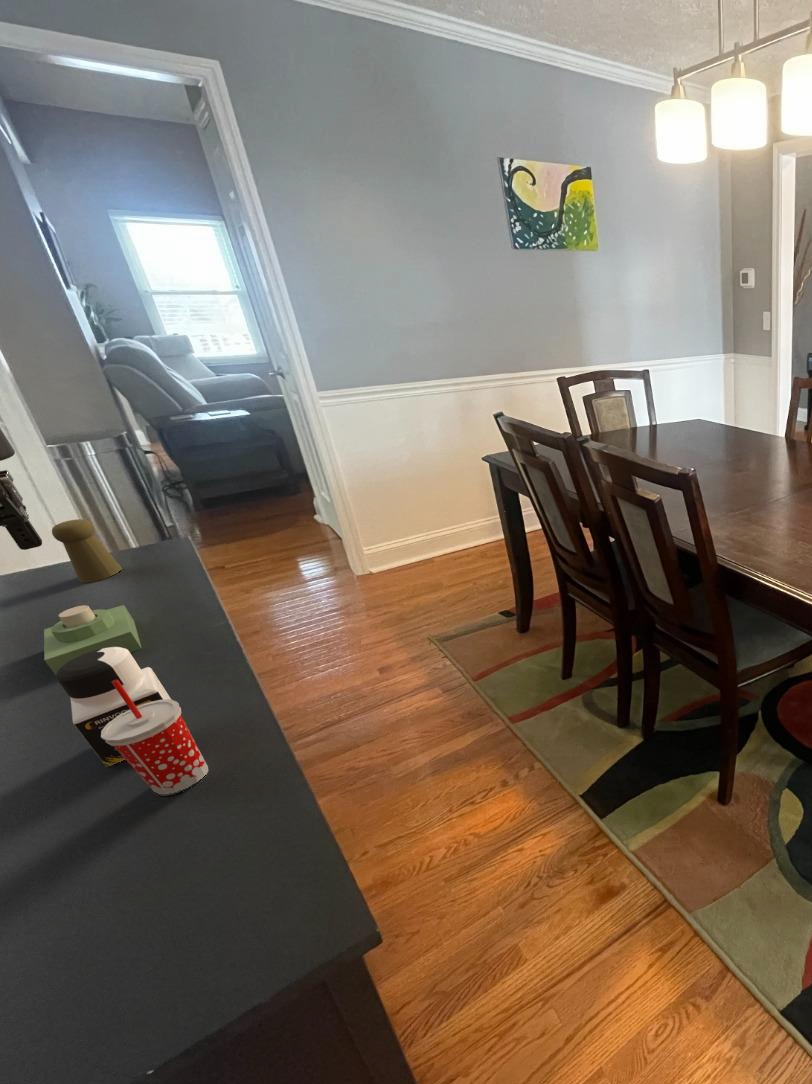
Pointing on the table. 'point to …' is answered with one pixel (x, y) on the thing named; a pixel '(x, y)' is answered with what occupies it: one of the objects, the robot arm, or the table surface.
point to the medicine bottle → (106, 693)
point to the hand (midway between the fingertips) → (32, 546)
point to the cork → (85, 551)
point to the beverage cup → (156, 744)
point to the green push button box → (90, 636)
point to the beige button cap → (77, 616)
